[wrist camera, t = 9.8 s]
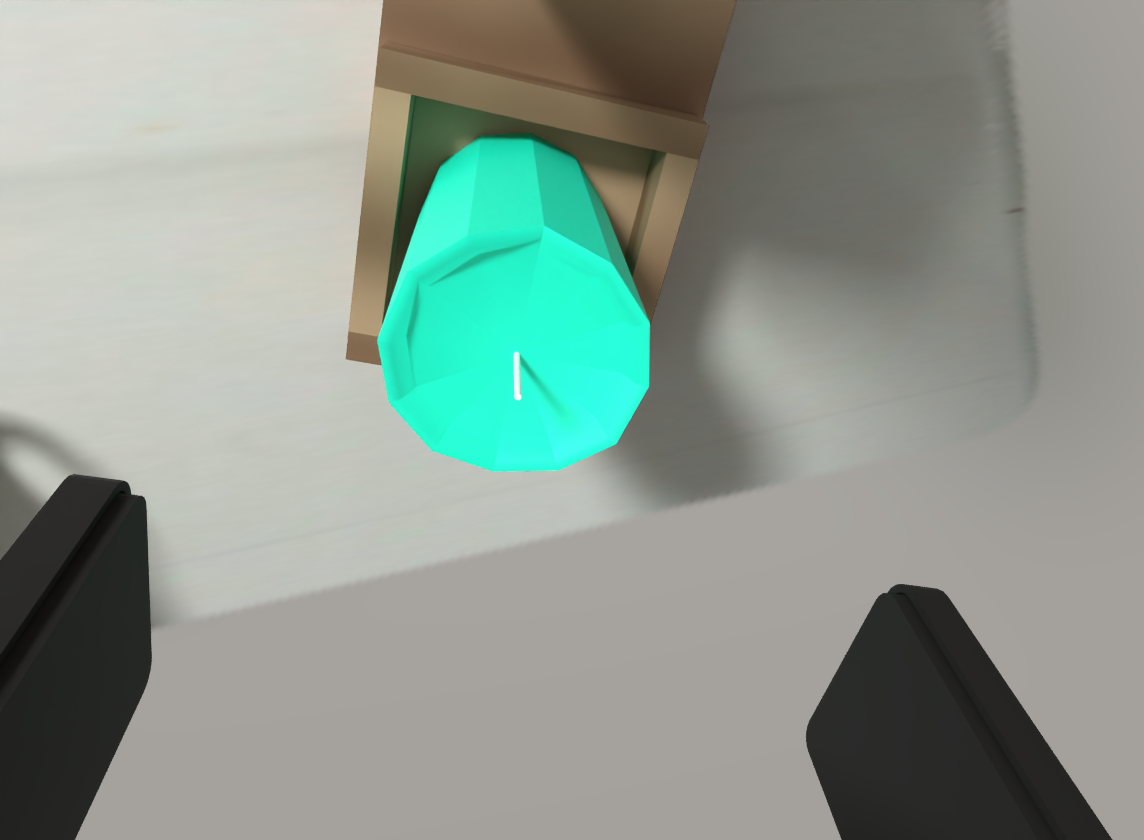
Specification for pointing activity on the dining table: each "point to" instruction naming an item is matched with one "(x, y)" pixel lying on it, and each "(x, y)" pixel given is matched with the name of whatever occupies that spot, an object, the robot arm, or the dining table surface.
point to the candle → (515, 313)
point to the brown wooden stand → (537, 117)
